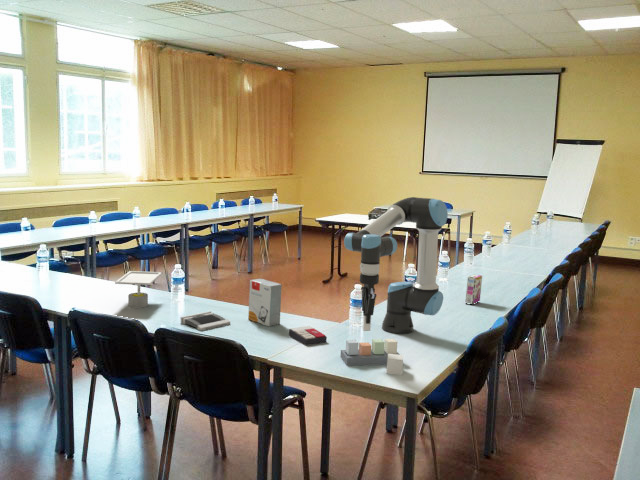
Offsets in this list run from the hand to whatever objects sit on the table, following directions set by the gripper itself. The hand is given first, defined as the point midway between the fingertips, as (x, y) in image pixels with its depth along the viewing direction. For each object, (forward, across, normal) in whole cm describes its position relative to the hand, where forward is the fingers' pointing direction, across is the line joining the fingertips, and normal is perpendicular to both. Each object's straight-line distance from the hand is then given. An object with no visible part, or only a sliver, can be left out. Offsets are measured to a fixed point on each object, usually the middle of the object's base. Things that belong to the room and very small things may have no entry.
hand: (366, 330), depth 244 cm
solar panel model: (+13, -92, -95) cm, 133 cm away
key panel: (+13, 0, +2) cm, 13 cm away
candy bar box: (+15, -91, +93) cm, 131 cm away
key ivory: (+10, 0, +11) cm, 14 cm away
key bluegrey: (+9, 0, -6) cm, 11 cm away
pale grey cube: (+13, +13, +8) cm, 20 cm away
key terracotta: (+11, 0, 0) cm, 11 cm away
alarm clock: (+13, -56, -62) cm, 84 cm away
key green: (+10, 0, +5) cm, 11 cm away
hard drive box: (+13, -58, -34) cm, 68 cm away
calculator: (+13, -29, -18) cm, 37 cm away
